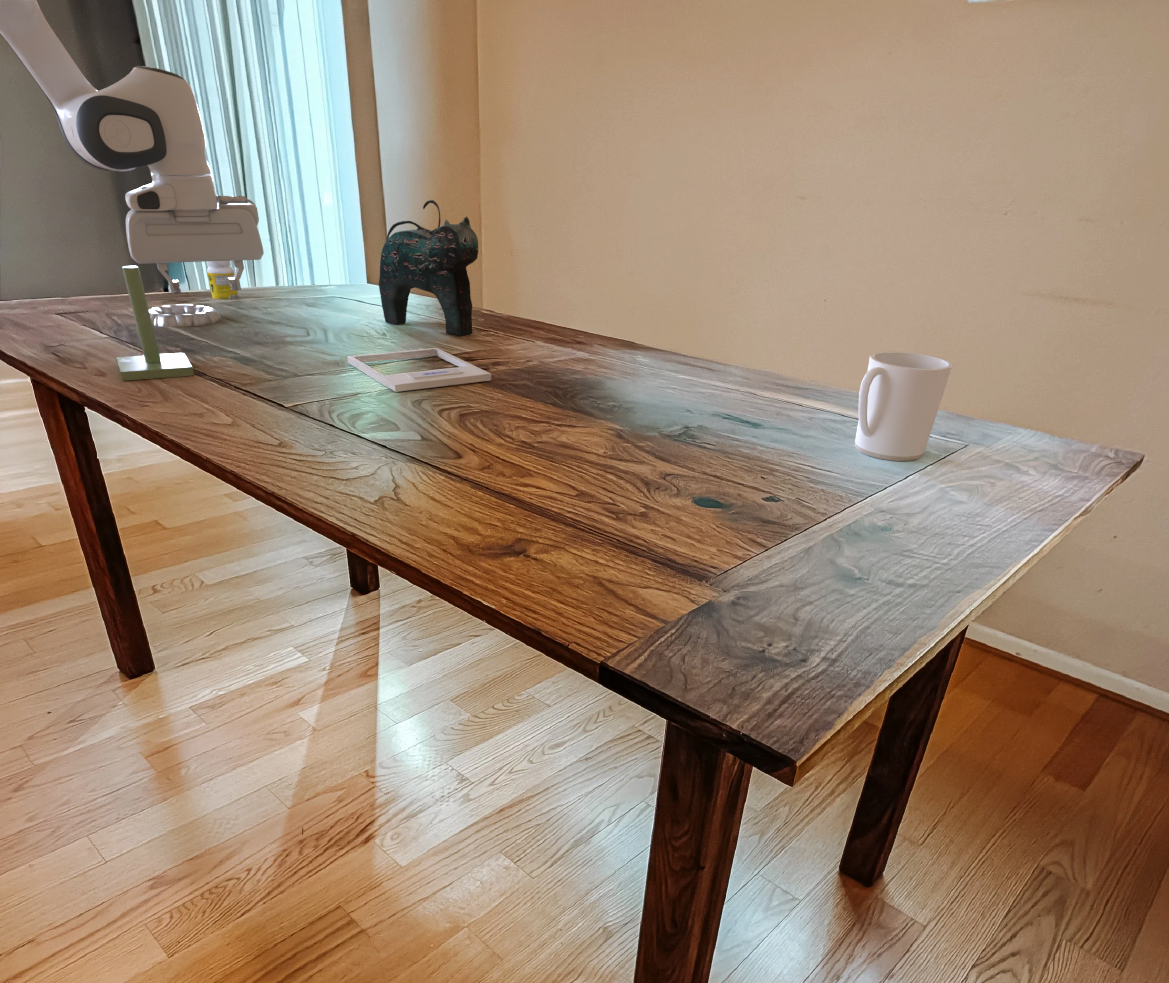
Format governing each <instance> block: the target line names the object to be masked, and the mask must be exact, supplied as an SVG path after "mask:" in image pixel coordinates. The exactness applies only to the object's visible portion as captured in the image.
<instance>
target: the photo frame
mask: <svg viewBox="0 0 1169 983" xmlns="http://www.w3.org/2000/svg"><path fill="white" fill-rule="evenodd" d="M431 356H436V357H438V358H440V359H442V360H444V361H446V362H448V363H450V364H452V365H454V366H456V367H448V368H447V367H446V368H439V369H437V368H436V369H429V370H420V371H411V372H402V373H393V374H383V373H381V372H379V371H378V370H376V369H374V368H372V367H371V366H369V365H367V364H366V363H371V362H383V361H392V360H393V361H394V360H401V359H412V358H422V357H431ZM346 358H347V359H346V360H347V364H349V365H351V366H353V367H354V368H355V369H357V370H359V371H360V372H362V373H364V375H367V376H368V377H371V378H372V379H374V380H375V381H376V382H379V383H380V384H382V385H383V386H385V387H387V388H388V389H390V390H391V391H393V392H394V393H398V392H406V391H414V390H422V389H430V388H439V387H446V386H447V387H448V386H456V385H465V384H471V383H472V384H473V383H479V382H490V381H492V373H490V372H488V371H486V370H484V369H482V368H480V367H479V366H476V365H474V364H472V363H470V362H468V361H466V360H463V359H461V358H459V357H457V356H455V355H453V354H450V353H448V352H446V351H445V350H443V349H441V348H438V347H430V348H419V349H410V350H409V349H408V350H400V351H399V350H398V351H389V352H388V351H387V352H378V353H368V354H358V355H348V356H347V357H346Z"/></svg>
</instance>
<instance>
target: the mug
mask: <svg viewBox="0 0 1169 983" xmlns="http://www.w3.org/2000/svg"><path fill="white" fill-rule="evenodd" d="M952 368H953V363H952V362H951V361H950V360H947V359H946V358H942V357H939V356H935V355H930V354H925V353H919V352H911V351H895V350H893V351H891V350H890V351H889V350H888V351H877V352H874V353H871V354H870V356H869V360H868V365H867V369H866V373H865V374H864V376H863V378H862V380H861V382H860V387H859V392H858V405H857V407H858V408H857V409H858V410H857V411H858V422H857V423H858V424H857V427H856V434H855V439H854V446H855V449H856V450H857V451H858V452H860V453H861V454H863V455H866V456H868V457H872V458H875V459H879V460H885V461H894V462H909V461H916V460H919V459H920V458H922V457H923V456H924V455H925V451H926V448H927V445H928V443H929V439H930V436H931V433H932V430H933V426H934V423H935V420H936V417H937V415H938V411H939V408H940V405H941V402H942V399H943V396H944V392H945V390H946V386H947V383H948V381H949V378H950V374H951V371H952Z"/></svg>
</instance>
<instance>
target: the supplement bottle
mask: <svg viewBox="0 0 1169 983" xmlns="http://www.w3.org/2000/svg"><path fill="white" fill-rule="evenodd" d="M206 264H207V266H208V267H207V269H206V274H207V279H208V283H209V289H210V293H211V298H212V299H214V300H234V299H238V298H239V292H238V290H236V291H232V290H231V288H230V282H229V278H234V274H235V271H234V269H233V268H232V266H231V261H206Z"/></svg>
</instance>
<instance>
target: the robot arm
mask: <svg viewBox="0 0 1169 983" xmlns="http://www.w3.org/2000/svg"><path fill="white" fill-rule="evenodd" d="M0 35H1V36H2V37H3V39H4V40H5V41H6V43H7V44H8V46H10V49H11V50H12V52H14V54H15V55H16V56H17V58H18V59H19V61H20V62H21V63H22V65H23V66H24V68H25V69H26V70H27V72H28V73H29V74H30V76H31V77H32V78H33V80H34V81H35V83H36V85H38V86H39V88H40V90H41V91H42V92H43V94H44V95H45V97H46V98H47V100H48V102H49V104H50V105H51V107H52V109H53V112H54V115H55V118H56V121H57V124H58V127H59V130H60V133H61V135H62V138H63V140H64V142H65V144H66V146H67V147H68V149H69V150H70V151H71V152H72V154H74V156H75V157H76V158H77V159H78V160H80V161H81V162H82V163H84V164H85V165H87V166H88V167H91V168H93V169H95V170H98V171H104V172H129V171H133V170H135V169H137V168H141V167H145V166H147V167H148V169H149V172H150V176H151V181H152V182H151V183H148V184H145V185H142V186H140V187H138V188H135V189H132V190H129V191H127V192H126V193H125V196H124V199H125V202H126V205H127V207H128V208H129V209H130V210H128V212H127V213H126V215H125V235H126V241H127V246H128V251H129V255H130V258H131V259H132V260H133V261H134V262H136V263H137V264H139V265H142V264H156V266H157V270H158V271H159V273H160V274H161V275H162V276H163V278H164V279H165V280H166V281H167V282H168V287H169V290H170V291H169V292H170V293H171V294H182V290H181V288H180V285H181V284H180V281H179V280H178V279H172V277H171V276H170V275H169V274H168V272H167V271H169V267H168V264H170V263H171V264H173V263H174V264H175V263H200V262H201V263H204V262H205V263H207V261H230V262H232V265H233V267H234V268H236V269H235V271H234V278H229V282H230V288H231V290H232V291H236V290H237V291H242V285H241V281H240V280H241V278H242V275H243V272H244V270H245V265H244V264H245V263H244V261H260V260H261V259H262V257H263V256H264V246H263V242H262V239H261V235H260V232H259V229H258V228H259V227H258V225H259V222H260V220H259V219H260V218H259V212H258V211H259V210H258V207H257V205H256V203H254V202H253V201H252V200H251V199H249V198H247V197H246V196H244V195H236V196H231V195H217V193H216V188H215V183H214V177H213V172H212V169H211V167H210V165H209V162H208V159H207V154H206V146H207V141H206V135H205V131H204V125H203V121H202V117H201V113H200V109H199V106H198V101H197V99H196V97H195V94H194V91H193V89H192V87H191V85H190V84H189V83H188V81H187V80H186V79H184V78H183V77H182V76H181V75H179V74H177V73H175V72H172V71H168V70H165V69H162V68H157V67H150V66H144V65H138V66H134V67H133V68H132V70H131V71H130V72H129V73H128V74H127V75H125V76H124V77H122V78H121V79H120V80H118V81H117V82H115V83H113V84H111V85H109V86H107V87H104V88H102V89H100V90H98V89H97V88H96V87H94V86H93V85H92V84H91V83H90V81H89V80H88V79H87V78H86V76H84V74H83V73H82V71H81V70H80V68H79V67H78V66H77V64H76V62H75V61H74V59H73V58H72V57H71V55H70V53H69V52H68V51H67V49H66V47H65V46H64V45H63V43H62V41H61V40H60V39H59V37H58V36H57V34H56V33H55V31H54V30H53V29H52V27H51V25H50V24H49V22H48V20H47V19H46V18H45V15H44V14H43V11H42V9H41V7H40V5H39V3H38V0H0Z"/></svg>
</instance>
